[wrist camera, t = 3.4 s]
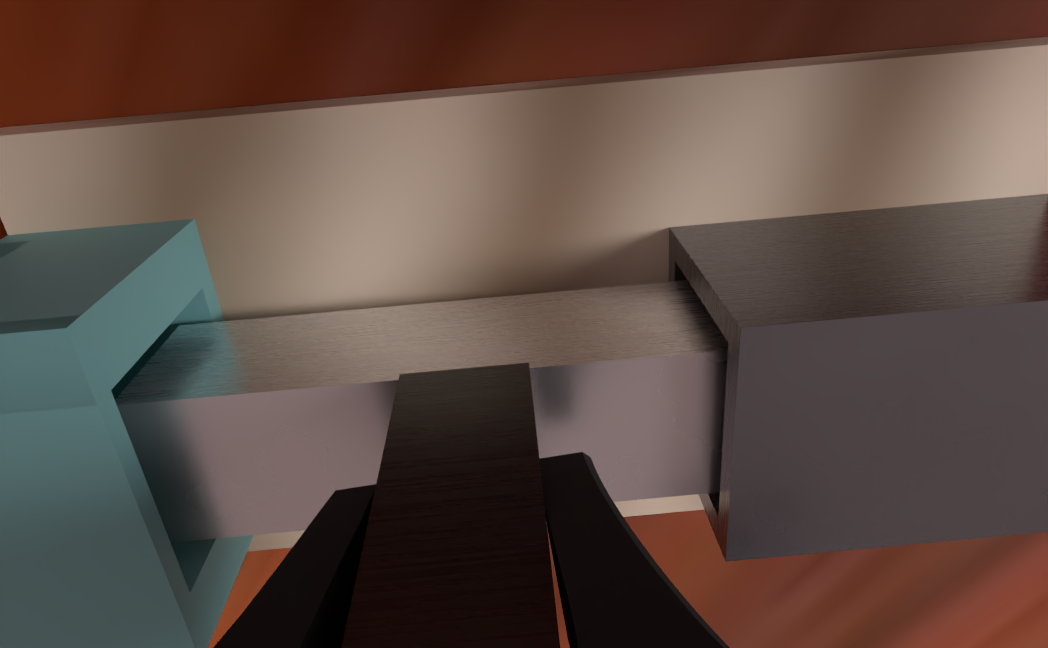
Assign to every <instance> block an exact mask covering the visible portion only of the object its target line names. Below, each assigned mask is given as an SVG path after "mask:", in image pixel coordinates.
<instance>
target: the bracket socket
mask: <svg viewBox="0 0 1048 648" xmlns="http://www.w3.org/2000/svg"><path fill="white" fill-rule="evenodd" d="M223 321H224V318H223V315H222V311H221V308H220V305H219V301H218V298H217V294H216V291H215V288H214V284H213V281H212V277H211V274H210V271H209V267H208V264H207V260H206V257H205V253H204V250H203V247H202V243H201V240H200V236H199V233H198V230H197V226H196V223H195V219H187V220H175V221H164V222H153V223H141V224H130V225H119V226H107V227H96V228H85V229H73V230H62V231H50V232H39V233H28V234H16V235H7V236H6V237H4V238H2V239H0V648H208V645H209V643H210V640H211V638H212V636H213V633H214V631H215V628H216V626H217V623H218V621H219V618H220V616H221V614H222V611H223V609H224V606H225V604H226V601H227V599H228V597H229V594H230V592H231V589H232V587H233V584H234V582H235V580H236V577H237V575H238V572H239V570H240V567H241V565H242V563H243V560H244V558H245V555H246V553H247V550H248V548H249V545H250V543H251V541H252V538H253V536H254V535H249V536H238V537H227V538H216V539H205V540H194V541H183V542H173V543H170V540H169V538H168V535H167V533H166V530H165V528H164V525H163V522H162V520H161V517H160V515H159V512H158V510H157V507H156V504H155V502H154V499H153V497H152V494H151V492H150V489H149V487H148V484H147V481H146V479H145V476H144V474H143V471H142V469H141V466H140V463H139V461H138V458H137V456H136V453H135V451H134V448H133V446H132V443H131V440H130V438H129V435H128V433H127V430H126V428H125V425H124V422H123V420H122V417H121V415H120V412H119V410H118V407H117V405H116V402H115V399H116V398H117V397H118V396H119V395H120V394H121V392H122V391H123V390H124V389H125V388H126V387H127V385H128V384H129V383H130V382H131V381H132V380H133V378H134V377H135V376H136V375H137V374H138V373H139V371H140V370H141V369H142V368H143V367H144V366H145V365H146V363H147V362H148V361H149V360H150V359H151V358H152V356H153V355H154V354H155V353H156V352H157V351H158V349H159V348H160V347H161V346H162V345H163V344H164V343H165V341H166V340H167V339H168V338H169V337H170V336H171V334H172V333H173V332H174V331H175V330H176V329H177V327H178V326H179V325H189V324H200V323H212V322H223Z"/></svg>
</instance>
